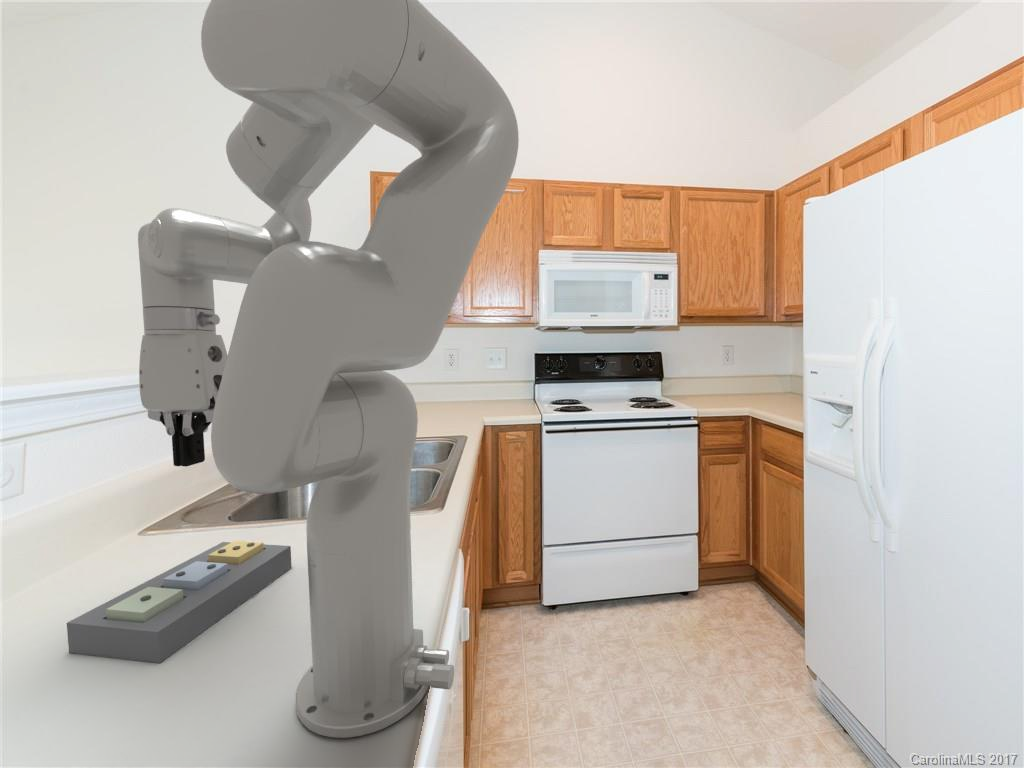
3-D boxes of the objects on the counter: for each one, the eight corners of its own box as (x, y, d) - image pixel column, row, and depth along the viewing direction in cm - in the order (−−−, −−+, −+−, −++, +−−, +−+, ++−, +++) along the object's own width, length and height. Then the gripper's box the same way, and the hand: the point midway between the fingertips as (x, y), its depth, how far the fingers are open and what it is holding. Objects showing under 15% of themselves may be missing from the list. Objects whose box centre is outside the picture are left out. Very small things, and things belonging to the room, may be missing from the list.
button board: (291, 567, 70) (290, 545, 70) (160, 663, 49) (157, 632, 48) (224, 563, 72) (222, 541, 72) (69, 652, 51) (66, 622, 50)
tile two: (228, 577, 62) (227, 562, 62) (197, 596, 57) (196, 580, 57) (197, 575, 63) (196, 559, 63) (164, 593, 58) (162, 577, 58)
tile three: (264, 555, 69) (263, 541, 69) (239, 570, 64) (238, 555, 64) (235, 553, 70) (234, 539, 70) (208, 568, 65) (207, 553, 65)
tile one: (183, 605, 55) (182, 588, 55) (144, 629, 51) (143, 611, 50) (149, 602, 56) (148, 585, 56) (107, 626, 51) (105, 607, 51)
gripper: (253, 324, 61) (260, 458, 62) (158, 327, 63) (167, 456, 64) (207, 320, 53) (216, 473, 54) (101, 323, 56) (112, 469, 57)
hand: (189, 463), depth 59 cm, fingers closed
